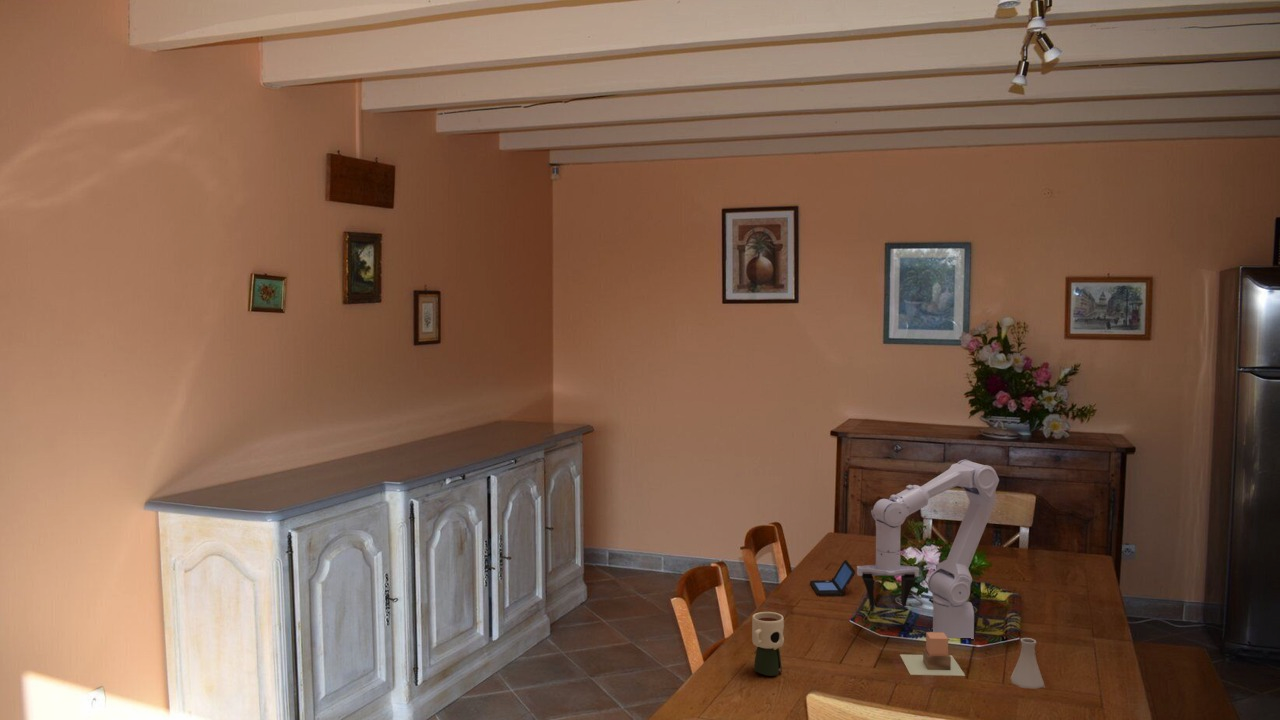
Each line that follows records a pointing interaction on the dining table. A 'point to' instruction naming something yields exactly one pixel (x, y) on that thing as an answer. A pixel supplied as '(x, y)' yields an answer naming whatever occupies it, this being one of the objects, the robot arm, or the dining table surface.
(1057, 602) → the dining table surface
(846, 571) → the handheld game console
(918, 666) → the plate
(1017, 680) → the flask
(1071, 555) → the dining table surface
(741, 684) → the dining table surface
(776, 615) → the character mug
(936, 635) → the terracotta cube
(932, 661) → the walnut base brick
